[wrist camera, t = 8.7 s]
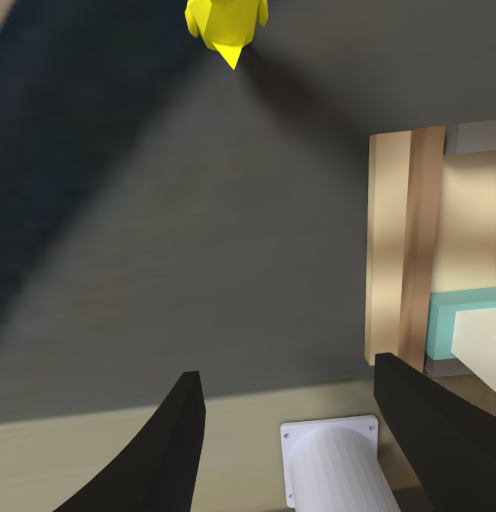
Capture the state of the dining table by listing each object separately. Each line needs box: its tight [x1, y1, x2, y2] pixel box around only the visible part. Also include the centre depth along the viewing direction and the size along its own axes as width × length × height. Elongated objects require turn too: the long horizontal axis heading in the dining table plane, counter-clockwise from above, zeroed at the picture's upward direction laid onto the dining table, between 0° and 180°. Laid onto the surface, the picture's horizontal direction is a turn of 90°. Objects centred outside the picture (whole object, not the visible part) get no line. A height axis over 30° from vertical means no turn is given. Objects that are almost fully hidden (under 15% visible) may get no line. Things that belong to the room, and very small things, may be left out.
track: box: [365, 120, 496, 378], centre depth 19 cm, size 16×12×3 cm
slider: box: [425, 287, 496, 391], centre depth 18 cm, size 4×5×5 cm
